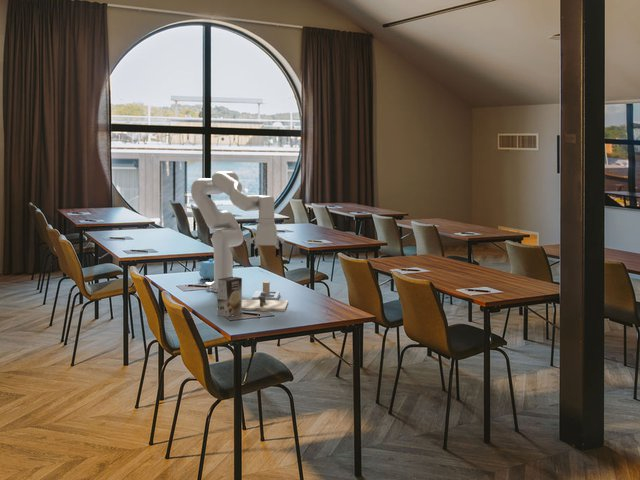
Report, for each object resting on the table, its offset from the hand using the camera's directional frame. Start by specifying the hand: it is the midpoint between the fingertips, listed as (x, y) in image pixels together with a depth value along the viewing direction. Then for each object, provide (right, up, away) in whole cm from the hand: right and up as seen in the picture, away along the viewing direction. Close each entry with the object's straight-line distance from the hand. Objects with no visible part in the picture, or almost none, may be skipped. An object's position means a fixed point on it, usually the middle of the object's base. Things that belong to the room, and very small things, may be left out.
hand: (266, 256), depth 342 cm
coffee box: (-14, -25, -32) cm, 43 cm away
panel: (-1, -20, +3) cm, 21 cm away
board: (-1, -23, -16) cm, 28 cm away
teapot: (-35, -14, +53) cm, 65 cm away
